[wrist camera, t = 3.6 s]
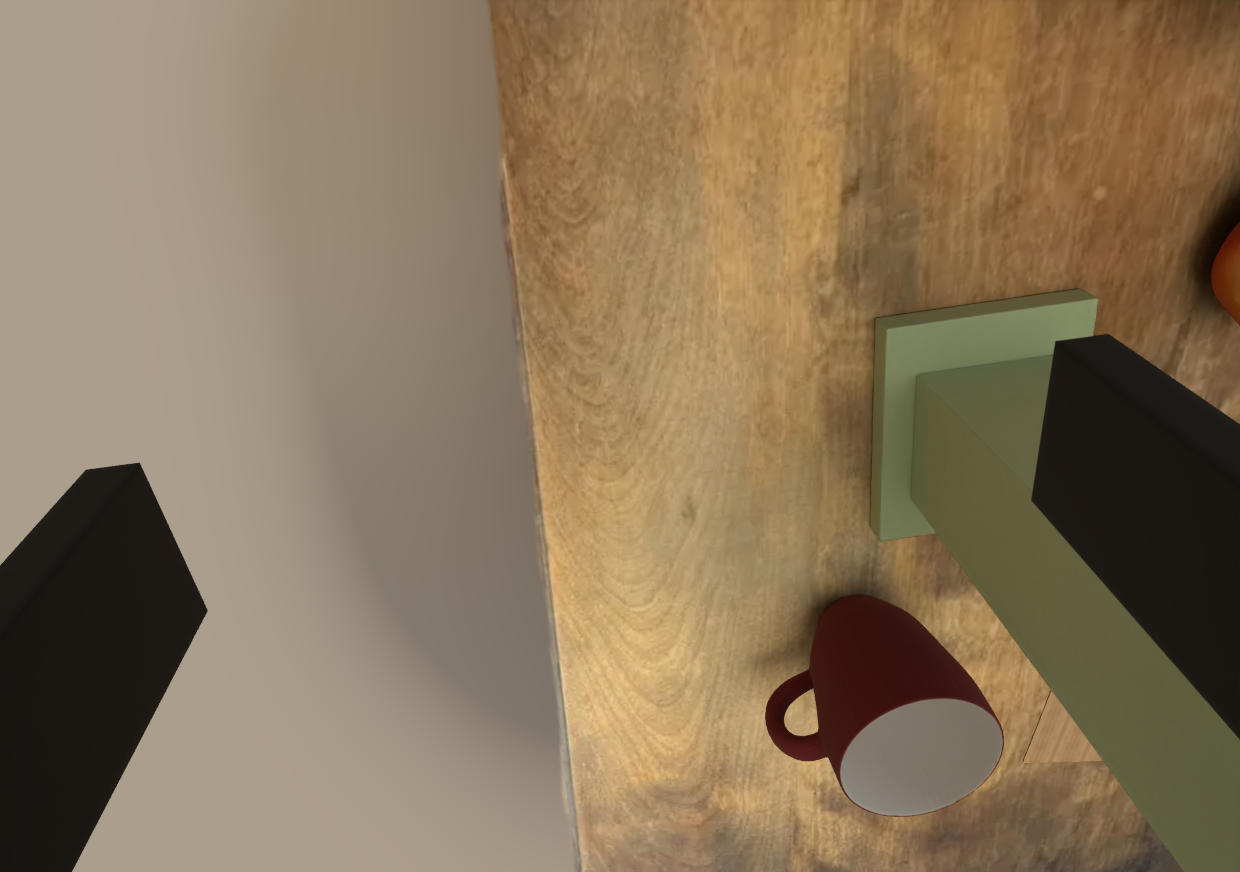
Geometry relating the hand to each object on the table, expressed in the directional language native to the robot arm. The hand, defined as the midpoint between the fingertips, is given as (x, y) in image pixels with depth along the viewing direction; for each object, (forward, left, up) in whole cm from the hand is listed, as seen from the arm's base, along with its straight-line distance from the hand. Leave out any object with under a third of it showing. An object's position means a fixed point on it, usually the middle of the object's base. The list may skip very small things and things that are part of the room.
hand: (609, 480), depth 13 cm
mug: (+28, +12, -27) cm, 41 cm away
